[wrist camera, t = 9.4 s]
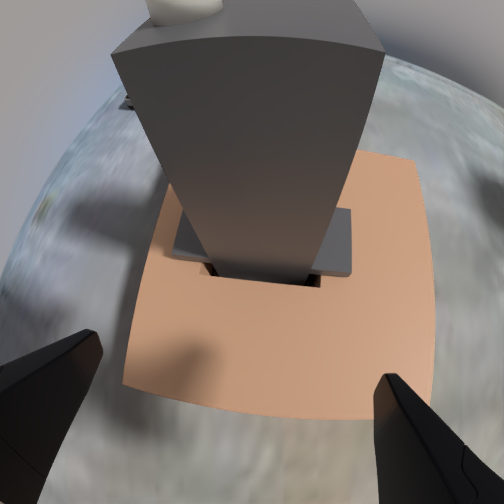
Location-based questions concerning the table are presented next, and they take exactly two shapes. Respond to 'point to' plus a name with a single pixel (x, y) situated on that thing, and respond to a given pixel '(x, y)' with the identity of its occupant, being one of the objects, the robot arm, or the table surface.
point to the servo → (256, 127)
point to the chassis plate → (295, 315)
